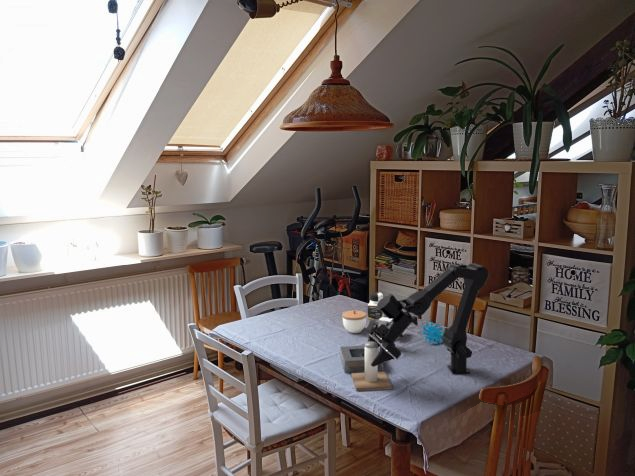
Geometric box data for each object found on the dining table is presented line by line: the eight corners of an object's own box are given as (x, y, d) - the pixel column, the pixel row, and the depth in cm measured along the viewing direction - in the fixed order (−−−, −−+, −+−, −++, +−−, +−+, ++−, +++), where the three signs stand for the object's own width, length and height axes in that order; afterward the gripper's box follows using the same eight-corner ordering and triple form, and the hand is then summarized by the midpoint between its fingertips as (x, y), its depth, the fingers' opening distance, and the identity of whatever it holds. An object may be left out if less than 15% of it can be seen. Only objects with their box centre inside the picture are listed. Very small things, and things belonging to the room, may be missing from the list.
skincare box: (377, 348, 217) (377, 319, 215) (382, 344, 220) (382, 316, 218) (392, 350, 214) (392, 321, 212) (396, 347, 217) (396, 318, 215)
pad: (391, 388, 180) (391, 386, 180) (356, 390, 179) (356, 388, 179) (384, 374, 192) (384, 371, 192) (351, 375, 191) (351, 373, 191)
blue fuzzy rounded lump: (425, 342, 217) (421, 320, 223) (420, 349, 222) (415, 327, 228) (450, 343, 220) (445, 321, 225) (444, 349, 224) (439, 328, 230)
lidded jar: (370, 332, 235) (370, 312, 233) (348, 336, 231) (348, 315, 229) (360, 325, 245) (359, 305, 243) (338, 328, 241) (338, 308, 239)
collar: (383, 370, 195) (383, 358, 194) (344, 372, 194) (344, 360, 193) (376, 356, 209) (375, 345, 208) (340, 357, 208) (340, 346, 207)
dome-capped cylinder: (380, 380, 185) (380, 344, 183) (369, 383, 183) (369, 347, 180) (372, 375, 188) (372, 340, 186) (362, 378, 186) (362, 343, 184)
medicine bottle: (367, 319, 253) (367, 294, 251) (370, 314, 260) (370, 290, 258) (382, 320, 251) (382, 295, 249) (385, 315, 258) (385, 291, 256)
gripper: (372, 304, 191) (343, 337, 191) (392, 320, 174) (360, 356, 173) (392, 323, 195) (364, 356, 194) (414, 341, 177) (383, 376, 176)
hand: (367, 360), depth 184 cm, fingers open, 9 cm apart
